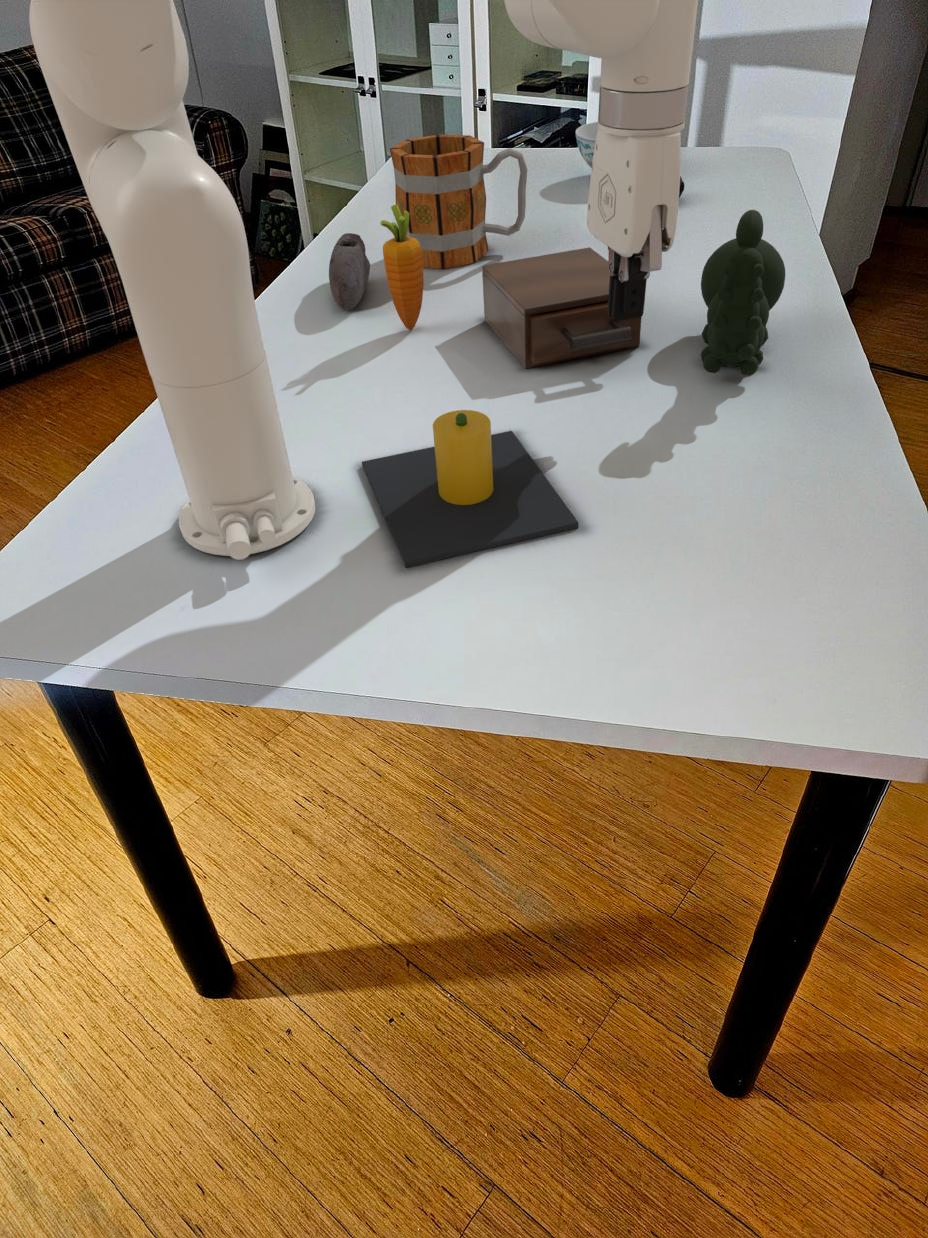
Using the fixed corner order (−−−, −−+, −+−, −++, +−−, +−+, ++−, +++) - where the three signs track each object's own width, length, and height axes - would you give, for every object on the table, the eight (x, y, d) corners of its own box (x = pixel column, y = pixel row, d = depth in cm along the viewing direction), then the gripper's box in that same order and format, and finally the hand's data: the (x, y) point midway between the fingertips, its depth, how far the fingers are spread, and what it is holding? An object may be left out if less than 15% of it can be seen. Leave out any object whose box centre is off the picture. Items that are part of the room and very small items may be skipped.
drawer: (655, 358, 102) (659, 312, 99) (546, 379, 100) (546, 334, 96) (591, 301, 116) (592, 260, 112) (494, 319, 113) (492, 277, 110)
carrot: (424, 338, 112) (412, 213, 103) (386, 337, 113) (371, 213, 104) (433, 322, 116) (422, 200, 106) (396, 321, 117) (383, 201, 107)
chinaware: (606, 193, 154) (608, 144, 149) (558, 175, 164) (559, 129, 159) (675, 177, 159) (679, 129, 154) (624, 160, 169) (627, 115, 164)
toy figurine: (769, 412, 96) (777, 303, 113) (801, 237, 83) (806, 142, 99) (680, 405, 99) (701, 299, 115) (698, 234, 85) (719, 142, 101)
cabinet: (639, 346, 107) (643, 287, 102) (525, 368, 104) (524, 309, 100) (588, 301, 118) (590, 246, 114) (484, 320, 116) (481, 265, 111)
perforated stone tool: (363, 319, 118) (355, 266, 114) (324, 321, 119) (315, 268, 114) (375, 278, 130) (369, 229, 125) (340, 280, 130) (332, 231, 125)
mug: (397, 271, 131) (385, 160, 121) (403, 241, 141) (392, 137, 132) (530, 263, 130) (529, 151, 120) (526, 234, 140) (525, 128, 131)
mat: (578, 527, 79) (578, 522, 79) (405, 567, 76) (404, 562, 76) (511, 435, 92) (511, 430, 92) (362, 466, 90) (361, 461, 89)
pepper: (500, 498, 83) (497, 420, 77) (447, 509, 82) (440, 432, 76) (483, 470, 86) (479, 395, 81) (432, 481, 85) (425, 406, 80)
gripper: (569, 97, 82) (562, 296, 94) (640, 130, 71) (622, 351, 83) (643, 90, 83) (627, 286, 95) (724, 121, 72) (694, 338, 84)
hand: (625, 315), depth 89 cm, fingers closed
